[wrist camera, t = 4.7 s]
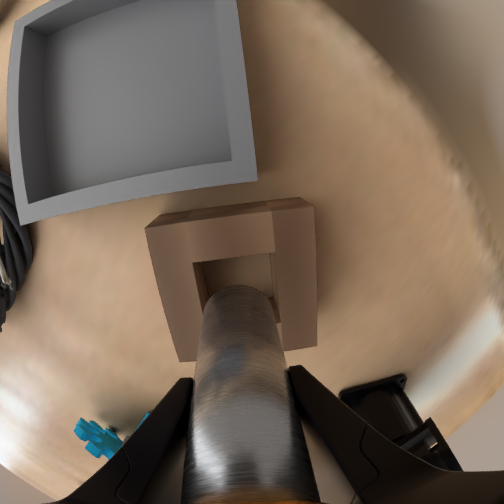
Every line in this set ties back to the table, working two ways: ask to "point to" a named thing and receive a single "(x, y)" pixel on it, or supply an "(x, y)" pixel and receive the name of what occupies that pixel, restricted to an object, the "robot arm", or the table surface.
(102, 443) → the gear
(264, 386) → the pin
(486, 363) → the table surface
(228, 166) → the tray
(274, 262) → the block
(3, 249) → the cable
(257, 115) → the table surface
